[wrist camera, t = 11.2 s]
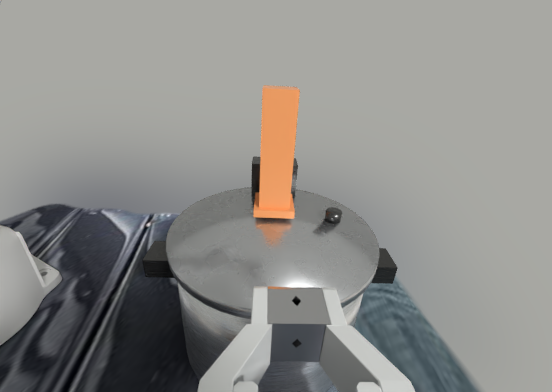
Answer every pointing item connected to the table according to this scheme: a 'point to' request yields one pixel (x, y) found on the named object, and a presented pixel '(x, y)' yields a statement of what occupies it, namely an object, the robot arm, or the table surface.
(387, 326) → the table surface
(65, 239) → the table surface
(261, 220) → the cooker
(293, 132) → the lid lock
